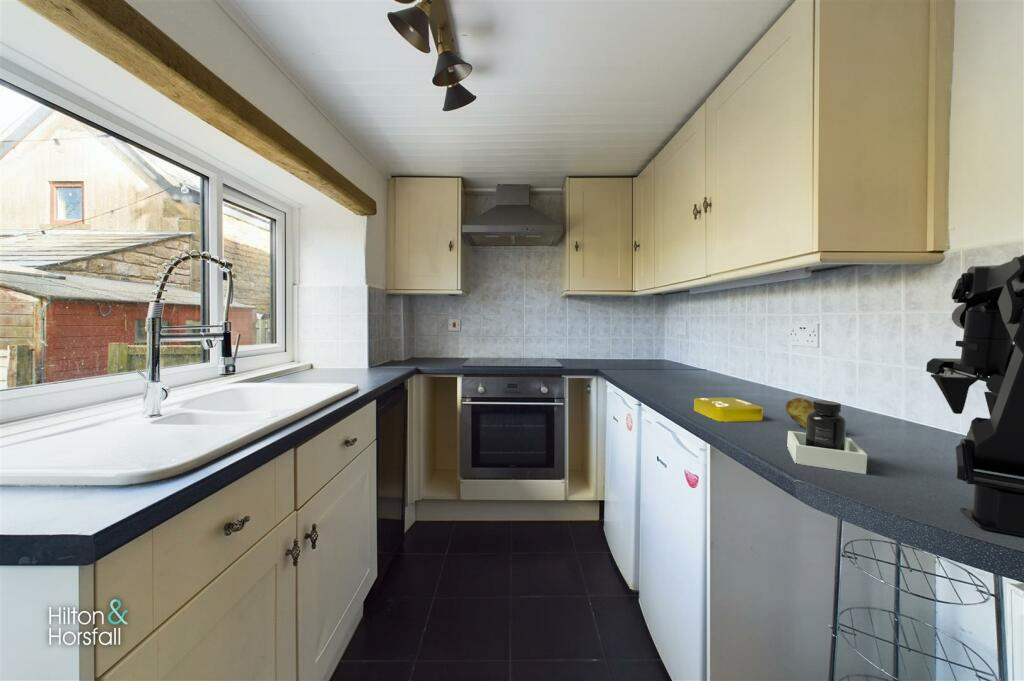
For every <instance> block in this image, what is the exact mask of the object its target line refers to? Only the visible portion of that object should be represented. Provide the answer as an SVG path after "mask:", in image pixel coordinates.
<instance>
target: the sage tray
mask: <svg viewBox="0 0 1024 681" xmlns="http://www.w3.org/2000/svg"><path fill="white" fill-rule="evenodd" d="M805 443H806V432H801V431H792V430H787V442H786V444H787V445H786V446H787V447H788V448H787V447H786V448H787V450H788V452H789V454H790V456H791V458H792V460H793V462H794V464H796V463H797V465H803V466H810V467H815V468H824V469H828V470H829V469H830V470H836V471H837V470H838V471H843V472H849V473H856V474H861V475H866V474H867V466H868V465H867V464H868V454H867V453H866V451H864V450H863V449H862V448H861V447H860V446H859V445H858V444H857V443H856V442H855V441H854V440H853V439H852V438H851V437H845V451H842V450H834V449H827V448H819V447H812V446H805Z"/></svg>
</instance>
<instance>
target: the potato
mask: <svg viewBox="0 0 1024 681" xmlns="http://www.w3.org/2000/svg"><path fill="white" fill-rule="evenodd" d="M812 407H813V401H812V400H810V399H807V398H802V397H800V398H799V397H797V398H792V399H790V400H788V401H787V402H786V404H785V412H786V413H787V415H788V416H789V417H790V418H791V419H792V420H793V421H794V422H795V423H798V424H799V425H800V426H801V427H803V428H804V429H806V423H807V415H808V414H809V413H811V412H813V411H814V410H813V409H812Z"/></svg>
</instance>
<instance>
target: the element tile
mask: <svg viewBox="0 0 1024 681" xmlns="http://www.w3.org/2000/svg"><path fill="white" fill-rule="evenodd" d="M693 410H694V412H696V413H699V414H701V415H703V416H705V417H707V418H710V419H711V418H712V420H713V419H714V420H713V421H716V420H717V422H721V421H724V422H725V423H732V422H733V423H734V422H761V421H762V422H763V420H764V419H763V418H764V407H762V406H759V405H756V404H754V403H751V402H748V401H746V400H742V399H739V398H737V397H730V396H729V397H695V398H694V401H693ZM724 422H723V423H724Z"/></svg>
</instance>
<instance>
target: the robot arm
mask: <svg viewBox="0 0 1024 681" xmlns="http://www.w3.org/2000/svg"><path fill="white" fill-rule="evenodd" d="M951 300H953V303H954V304H959V305H958V306H957V307H956V308H955V309H953V312H952V314H951V319H952V322H953V324H954V325H955V326H957V327H958V328H960V329H962V330H963V339H962V340H955V347H959V348H961V355H960V358H953V357H952V358H950V357H949V358H947V357H944V358H943V357H942V358H941V357H940V358H939V357H937V358H936V357H932V358H931V359H930V360H929V361H927V362H926V369H925V370H926V371H925V372H927V373H930V378H932V379H934V381H935V383H936V385H937V387H938V388H939V390H940V392H942V395H943V396H944V398H945V400H946V402H947V403H948V406H949V407H950V409H951V411H952V413H953V414H956V415H961V414H962V413H963V411H964V409H965V405H966V402H967V398H968V394H969V390H970V387H971V386H972V385H974V384H975V383H976V382H977V381H982V382H984V383H985V386H986V388H987V390H988V391H984V392H983V393H984V397H985V402H986V405H987V409H988V414H989V418H985V417H975V418H974V419H972V420H971V422H970V427H969V429H968V431H967V433H966V437H965V438H961V439H960V441H959V444H958V445H956V446H955V449H954V450H955V457H956V475H955V476H956V479H958V480H960V481H963V482H965V483H966V484H968V485H973V496H972V504H971V508H966V507H965V508H964V507H960V508H959V511H960V513H962V514H963V515H964V516H965V517H967V518H968V519H969V520H970V521H971V522H972V523H974V524H975V525H976V526H977V527H979V528H980V529H983V530H986V531H991V532H998V533H1004V534H1008V535H1014V536H1019V537H1024V254H1021V255H1020V256H1014V257H1013V258H1012V260H1010V261H1007V262H1004V263H1002V264H996V265H995V264H994V265H973V266H970V267H968V269H967V270H966V272H963V273H961V275H960V277H959V278H958V279H957V280H956V282H955V285H954V287H953V289H952V292H951ZM984 471H985V472H984ZM995 473H996V474H995ZM1013 476H1014V477H1013Z"/></svg>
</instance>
